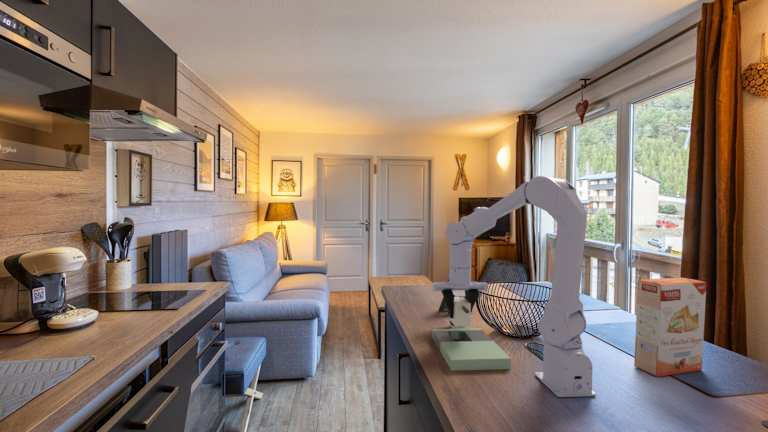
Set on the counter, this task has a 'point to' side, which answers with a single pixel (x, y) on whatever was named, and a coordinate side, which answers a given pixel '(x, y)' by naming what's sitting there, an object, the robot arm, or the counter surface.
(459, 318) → the plug
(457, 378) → the counter surface
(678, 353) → the cracker box
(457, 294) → the dixie cup
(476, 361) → the board
